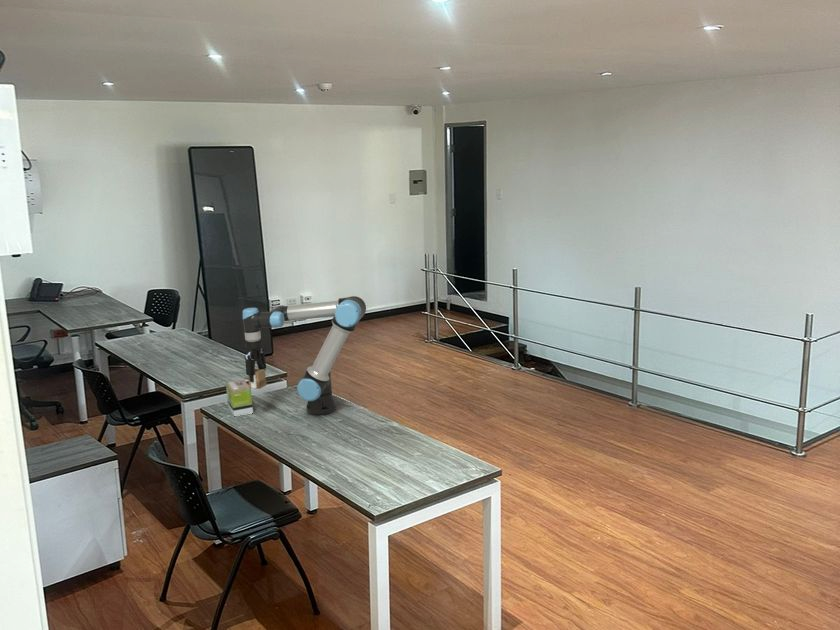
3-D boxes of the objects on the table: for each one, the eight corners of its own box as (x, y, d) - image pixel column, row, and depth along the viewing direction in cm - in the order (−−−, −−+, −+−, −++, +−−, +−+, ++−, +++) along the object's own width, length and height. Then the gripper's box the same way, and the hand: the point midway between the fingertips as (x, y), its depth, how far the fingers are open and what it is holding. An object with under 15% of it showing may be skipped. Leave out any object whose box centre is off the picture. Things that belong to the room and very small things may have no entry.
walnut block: (266, 385, 372) (265, 369, 370) (259, 388, 367) (257, 372, 365) (256, 384, 374) (254, 368, 373) (249, 388, 369) (247, 372, 367)
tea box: (228, 409, 391) (225, 382, 388) (247, 406, 395) (244, 379, 392) (233, 417, 378) (231, 389, 375) (253, 414, 382) (251, 386, 379)
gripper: (258, 335, 376) (262, 380, 380) (234, 344, 359) (240, 391, 363) (270, 335, 373) (275, 380, 377) (247, 344, 356) (253, 392, 360)
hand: (258, 385), depth 370 cm, fingers closed on walnut block, 6 cm apart
